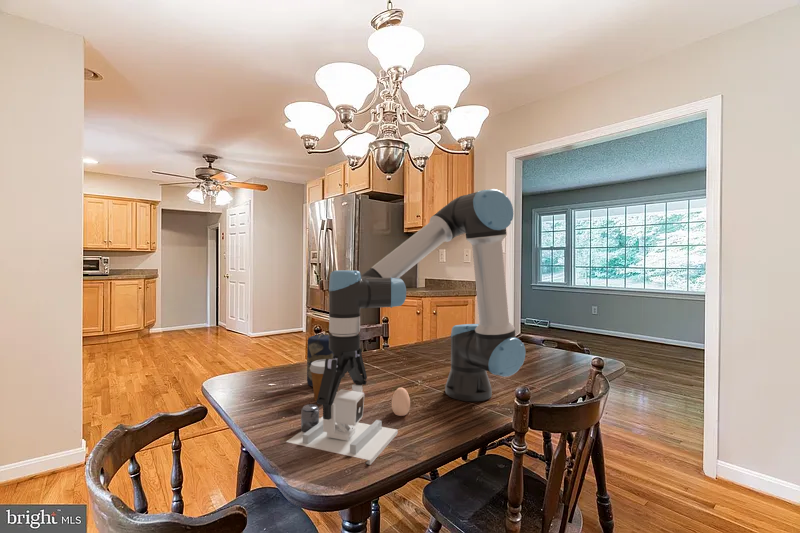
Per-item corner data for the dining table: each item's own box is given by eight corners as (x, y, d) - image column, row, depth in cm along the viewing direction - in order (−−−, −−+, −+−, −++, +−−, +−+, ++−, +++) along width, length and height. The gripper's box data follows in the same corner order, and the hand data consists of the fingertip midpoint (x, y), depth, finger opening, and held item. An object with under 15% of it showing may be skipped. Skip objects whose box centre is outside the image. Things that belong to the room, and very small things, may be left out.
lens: (322, 426, 97) (322, 405, 97) (312, 433, 93) (312, 411, 93) (307, 424, 99) (307, 402, 99) (297, 431, 95) (297, 408, 95)
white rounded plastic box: (353, 443, 89) (356, 401, 88) (325, 437, 90) (328, 396, 90) (362, 431, 95) (364, 391, 94) (336, 426, 96) (338, 387, 96)
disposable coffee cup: (325, 409, 111) (326, 368, 111) (302, 402, 116) (303, 363, 116) (346, 399, 119) (347, 361, 119) (324, 393, 124) (324, 357, 124)
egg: (408, 412, 109) (408, 384, 109) (411, 420, 104) (412, 390, 104) (390, 413, 109) (390, 385, 109) (392, 421, 103) (393, 391, 103)
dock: (397, 433, 96) (397, 421, 96) (370, 464, 81) (370, 451, 81) (323, 419, 104) (323, 408, 104) (285, 445, 89) (285, 433, 89)
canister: (301, 386, 131) (301, 335, 131) (317, 379, 140) (317, 330, 139) (324, 390, 127) (325, 337, 127) (339, 382, 136) (340, 332, 136)
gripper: (355, 324, 105) (354, 400, 105) (300, 342, 82) (300, 439, 82) (379, 326, 102) (379, 404, 103) (330, 345, 79) (330, 446, 80)
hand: (344, 420), depth 93 cm, fingers open, 13 cm apart
